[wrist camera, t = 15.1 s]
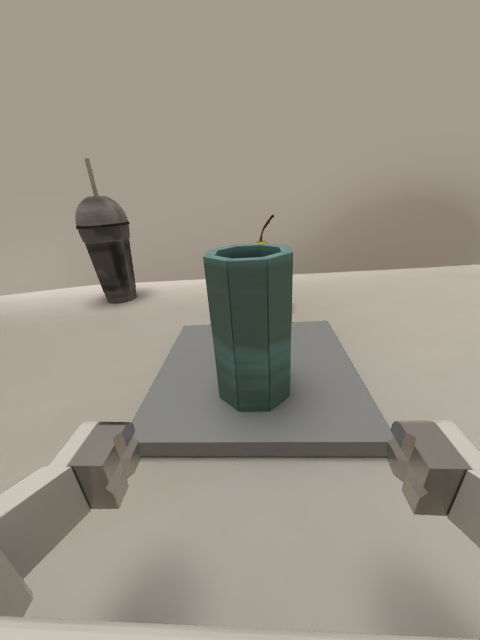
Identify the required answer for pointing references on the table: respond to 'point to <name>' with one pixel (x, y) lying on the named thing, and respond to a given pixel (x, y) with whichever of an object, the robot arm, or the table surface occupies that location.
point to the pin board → (261, 427)
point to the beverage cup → (107, 243)
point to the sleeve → (251, 323)
